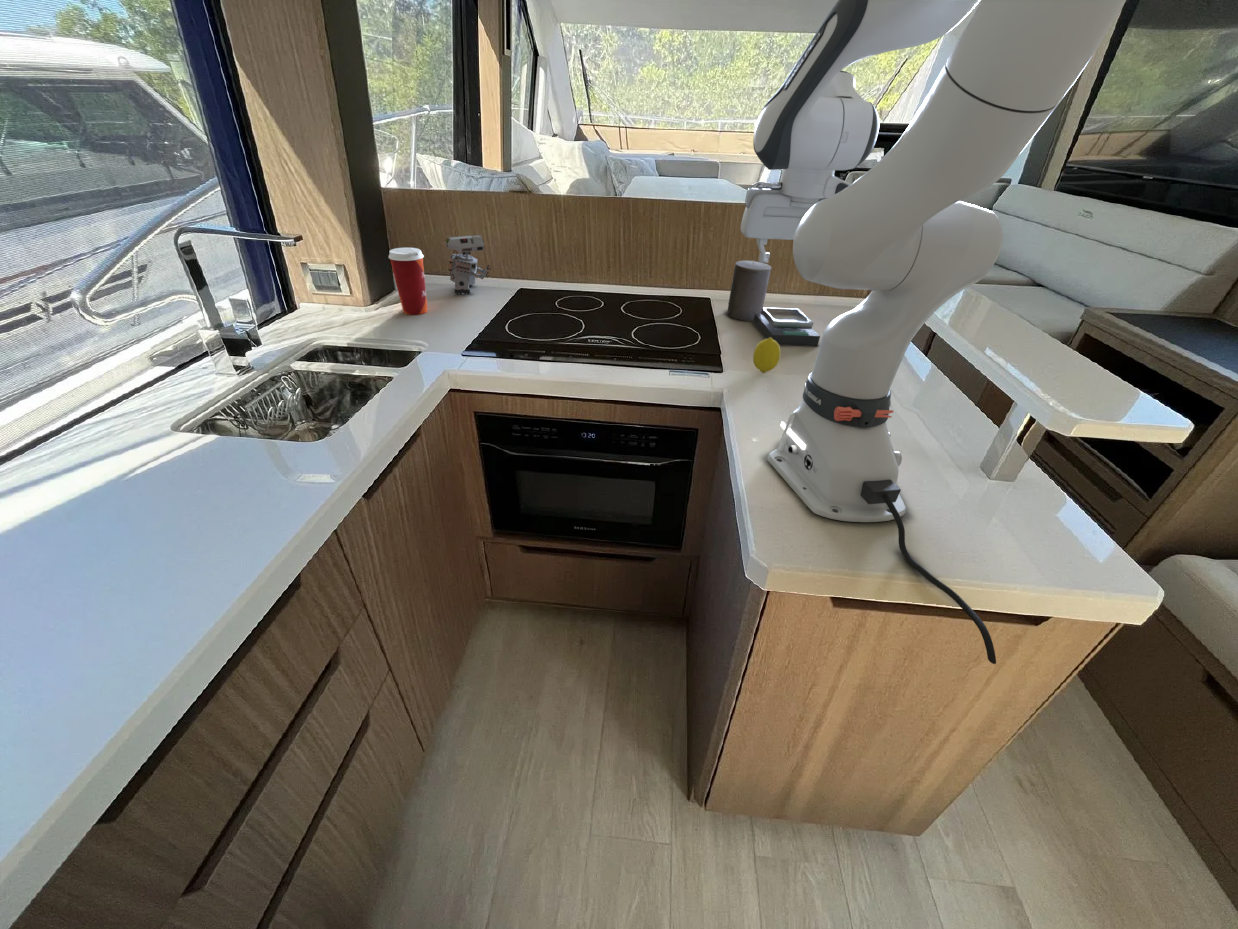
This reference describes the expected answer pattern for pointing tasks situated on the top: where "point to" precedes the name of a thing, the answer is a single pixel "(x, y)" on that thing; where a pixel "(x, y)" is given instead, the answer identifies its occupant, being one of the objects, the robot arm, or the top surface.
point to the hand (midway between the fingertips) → (786, 263)
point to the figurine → (465, 262)
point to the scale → (786, 333)
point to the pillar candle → (748, 289)
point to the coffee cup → (409, 279)
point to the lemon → (766, 355)
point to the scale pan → (786, 318)
